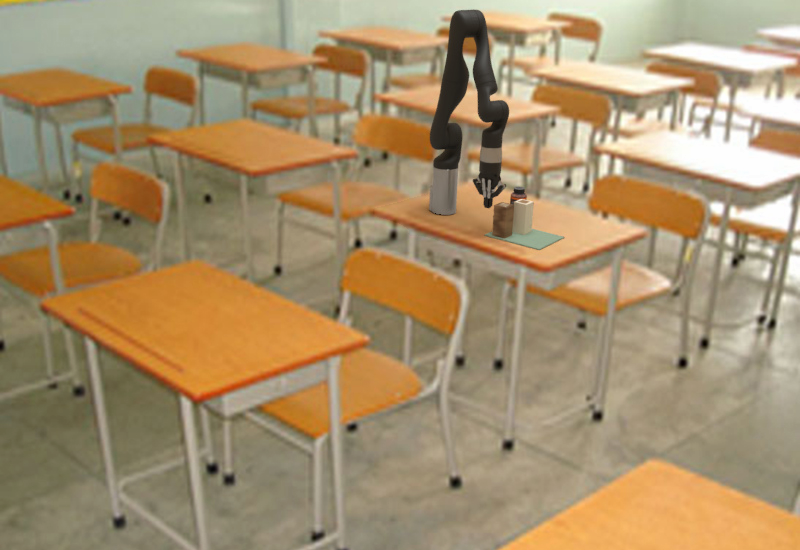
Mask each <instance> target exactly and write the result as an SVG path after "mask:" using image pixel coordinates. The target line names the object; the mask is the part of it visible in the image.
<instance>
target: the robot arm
mask: <svg viewBox="0 0 800 550" xmlns="http://www.w3.org/2000/svg"><path fill="white" fill-rule="evenodd" d="M448 29H449V31H448V41H447V42H448V43H447V50H446V58H445V65H444V69H443V73H442V79H441V82H440V83H441V84H440V88H439V89H440V90H439V97H438V101H437V105H436V110H435V114H434V116H433V120H432V122H431V127H430V131H429V143H430V145H431V148H432V149H434V150H439V151H442V150H443V151H442V152H441V153H440V154H438V155H437V156H435V158H434V159H433V160H432V161H433V162H432V184H431V185H430V187H429V201H428V202H429V204H428V205H429V207H428V210H430V212H431V213H432V214H435V213H436V214H435V215H439V214H441V216H449V215H455V214H456V213H457V203H458V202H457V199H458V182H459V181H458V180H459V163H460V161H461V158H462V156H461V155H462V148H463V147H462V146H463V130H462V127H461V125H459V124H458V123H457V122H449V121H450V118H451V117H452V114H453V113H454V111H455V110H456V109H457V107H458V106H459V104H460V103H461V102H462V101H463V99H464V97H465V96H466V93H467V90H468V85H469V81H470V71H469V70H470V69H469V68H468V66H467V65H468V64H467V63H466V60H465V57H464V53H463V51H464V43H465V40H466V39H469V38H473V40H474V42H475V49H476V51H475V52H476V53H475V56H474V62H473V66H472V78H473V81H474V85H475V89H476V91H477V115H478V117H479V119H480V120H481V121H482V122H483V123H486V124H488V123H491V124H490V126H488V127H486V128H485V129H483V130H482V132H481V144H480V146H481V147H480V152H479V163H478V164H479V166H478V168H479V169H478V171H479V172H478V175H477V177H476V178H473V179H472V183H473V185H474V187H475V188H476V190H477V192H478V194H479V195H482V196H483V206H484V208H485V209H490V208H492V207H493V201H494V198H496V197H499V195H500V194H501V193H502V192H503V191H504V190H505V189H506V187H507V184H506V183H503V182H502V177H501V173H502V165H503V164H502V161H503V135H504V132H505V129H506V126H507V124H508V121H509V116H510V107H509V104H508V103H507V102H506V101H505V100H503V99H499V100H498V99H497V100H491V96H493V95H495V94H496V93H497V92H498V91H499V87H498V83H497V80H496V75H495V73H494V69H493V65H492V60H491V59H492V58H491V52H490V51H491V50H490V49H491V48H490V43H489V34H488V27H487V20H486V17H485V15H484V13H483V11H481V10H479V9H459V10H458V9H457V10H456V11H455V12H453V13H452V16H451V18H450V22H449V28H448Z"/></svg>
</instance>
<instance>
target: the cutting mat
mask: <svg viewBox="0 0 800 550" xmlns="http://www.w3.org/2000/svg"><path fill="white" fill-rule="evenodd" d="M484 236H485V237H489V238H492V239H496V240H499V241H502V242H503V241H504V242H507V243H509V244H510V243H511V244H515V245H519V246H522V247H526V248H529V249H533V250H536V251H541V250H543V249H545V248H547V247H549V246H552V245H553V244H554V243H555V244H556V242H557V243H558V242H559V241H561V240H563V239H565V236H562V235H558V234H554V233H551V232H547V231H543V230H539V229H535V228H532V231H531V232H529V233H527V234H525V235H522V234H518V233H514V232H512V235H511V236H509V237H507V238H505V239H504V238H500V237H496V236H492V231H490V232H487V233H485V234H484Z"/></svg>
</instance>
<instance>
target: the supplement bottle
mask: <svg viewBox="0 0 800 550" xmlns="http://www.w3.org/2000/svg"><path fill="white" fill-rule="evenodd" d="M525 190H526V188H525V187H523V186H515V187H513V192H512V193H510V199H509V200H510V201H509V204H513V205H514V202H515V201H517V200H520V199H525V200H528V199H527V198H528V196H527V194H526V193H525V192H526V191H525Z"/></svg>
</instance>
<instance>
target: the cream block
mask: <svg viewBox="0 0 800 550" xmlns="http://www.w3.org/2000/svg"><path fill="white" fill-rule="evenodd" d="M534 204H535V201H532V200H530V199H529V200H528V199H527V200H525V199H520V200H517V201H515V202H514V217H513V230H512V232H514V233H518V234H522V235H525V234H527V233H529V232H531V231H532V229H533V220H534V219H533V218H534V217H533V216H534V208H535V207H534Z"/></svg>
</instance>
